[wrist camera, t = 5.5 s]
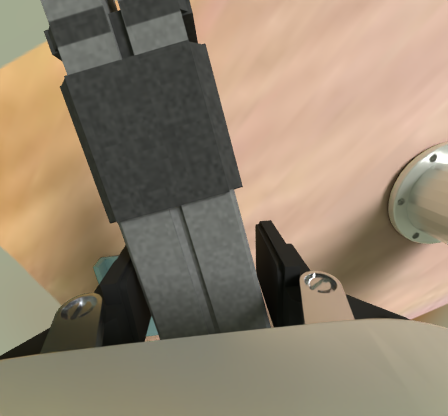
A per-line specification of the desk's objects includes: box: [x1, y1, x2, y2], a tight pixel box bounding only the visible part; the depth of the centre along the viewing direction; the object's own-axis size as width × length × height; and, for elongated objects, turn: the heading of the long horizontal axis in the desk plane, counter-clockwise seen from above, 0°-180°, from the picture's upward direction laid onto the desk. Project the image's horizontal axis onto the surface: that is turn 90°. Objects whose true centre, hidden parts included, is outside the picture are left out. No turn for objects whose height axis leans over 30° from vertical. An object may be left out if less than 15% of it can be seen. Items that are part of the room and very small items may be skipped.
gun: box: [41, 0, 271, 340], centre depth 11 cm, size 4×20×10 cm, turn 15°
